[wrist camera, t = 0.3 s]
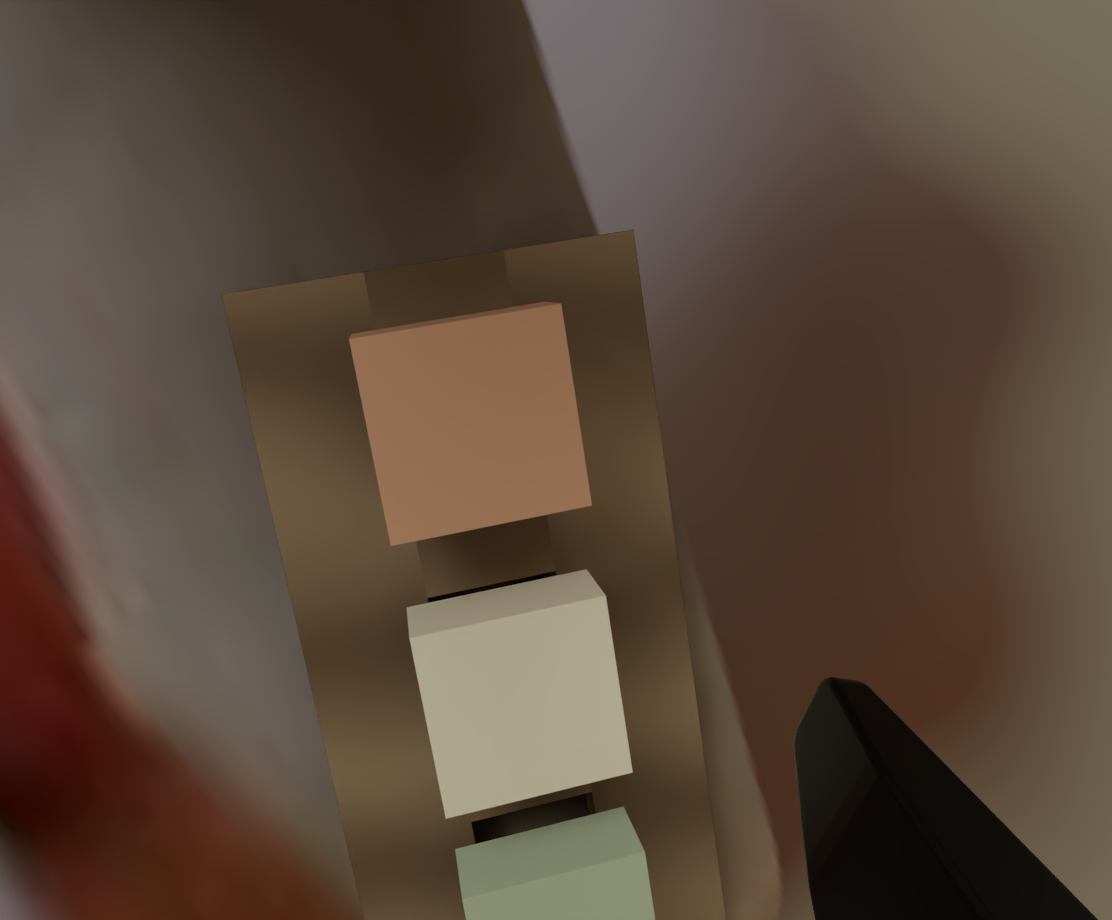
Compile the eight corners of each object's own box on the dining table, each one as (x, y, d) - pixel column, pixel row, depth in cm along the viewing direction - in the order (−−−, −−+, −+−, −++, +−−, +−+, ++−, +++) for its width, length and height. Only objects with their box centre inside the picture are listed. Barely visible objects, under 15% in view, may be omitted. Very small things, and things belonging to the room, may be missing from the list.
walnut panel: (709, 890, 29) (726, 922, 28) (385, 978, 28) (386, 1016, 26) (618, 232, 25) (633, 229, 23) (231, 293, 23) (221, 294, 22)
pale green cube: (631, 916, 27) (668, 1008, 23) (478, 957, 26) (494, 1058, 23) (609, 777, 26) (644, 851, 22) (450, 816, 25) (462, 899, 22)
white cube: (598, 707, 25) (632, 772, 22) (436, 745, 25) (445, 818, 21) (573, 552, 24) (605, 595, 21) (404, 587, 24) (409, 638, 20)
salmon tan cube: (561, 474, 24) (592, 505, 20) (388, 507, 23) (391, 545, 20) (533, 300, 23) (561, 303, 20) (353, 330, 22) (348, 339, 19)
